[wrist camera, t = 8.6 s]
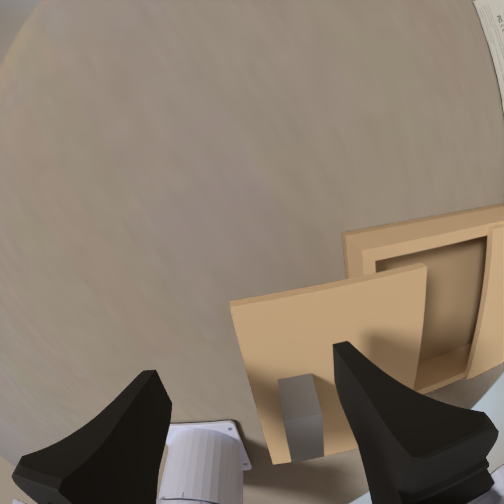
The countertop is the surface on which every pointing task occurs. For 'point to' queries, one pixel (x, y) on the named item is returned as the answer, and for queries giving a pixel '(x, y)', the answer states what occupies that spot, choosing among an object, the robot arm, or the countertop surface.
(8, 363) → the countertop surface
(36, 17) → the countertop surface
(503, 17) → the hard drive box
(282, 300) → the lid flap
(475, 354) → the carton
